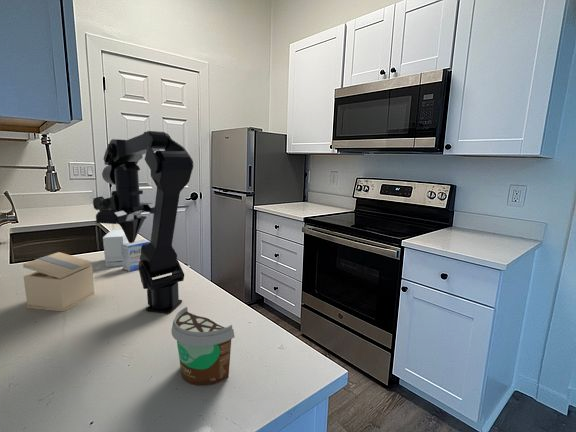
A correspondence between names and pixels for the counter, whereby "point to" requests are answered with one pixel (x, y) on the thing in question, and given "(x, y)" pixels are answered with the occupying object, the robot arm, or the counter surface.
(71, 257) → the carton lid
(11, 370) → the counter surface
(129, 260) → the medicine box
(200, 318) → the food container
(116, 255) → the skincare box
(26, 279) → the carton
